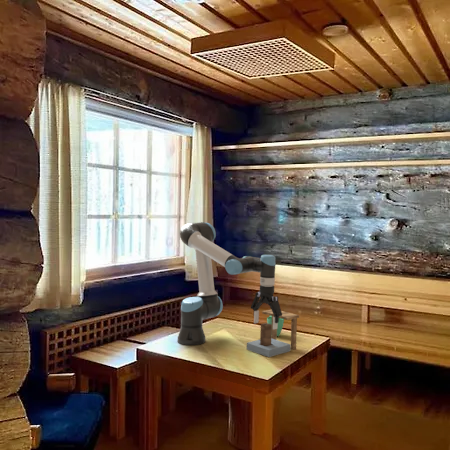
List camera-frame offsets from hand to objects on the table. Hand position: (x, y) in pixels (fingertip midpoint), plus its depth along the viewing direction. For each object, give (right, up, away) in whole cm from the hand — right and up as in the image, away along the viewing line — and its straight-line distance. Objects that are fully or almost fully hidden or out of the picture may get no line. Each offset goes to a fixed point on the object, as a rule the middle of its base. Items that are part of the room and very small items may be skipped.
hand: (265, 325), depth 255 cm
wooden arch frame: (+9, -13, +8) cm, 17 cm away
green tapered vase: (+7, -12, +32) cm, 35 cm away
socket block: (+2, -13, +2) cm, 13 cm away
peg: (0, -13, 0) cm, 13 cm away
